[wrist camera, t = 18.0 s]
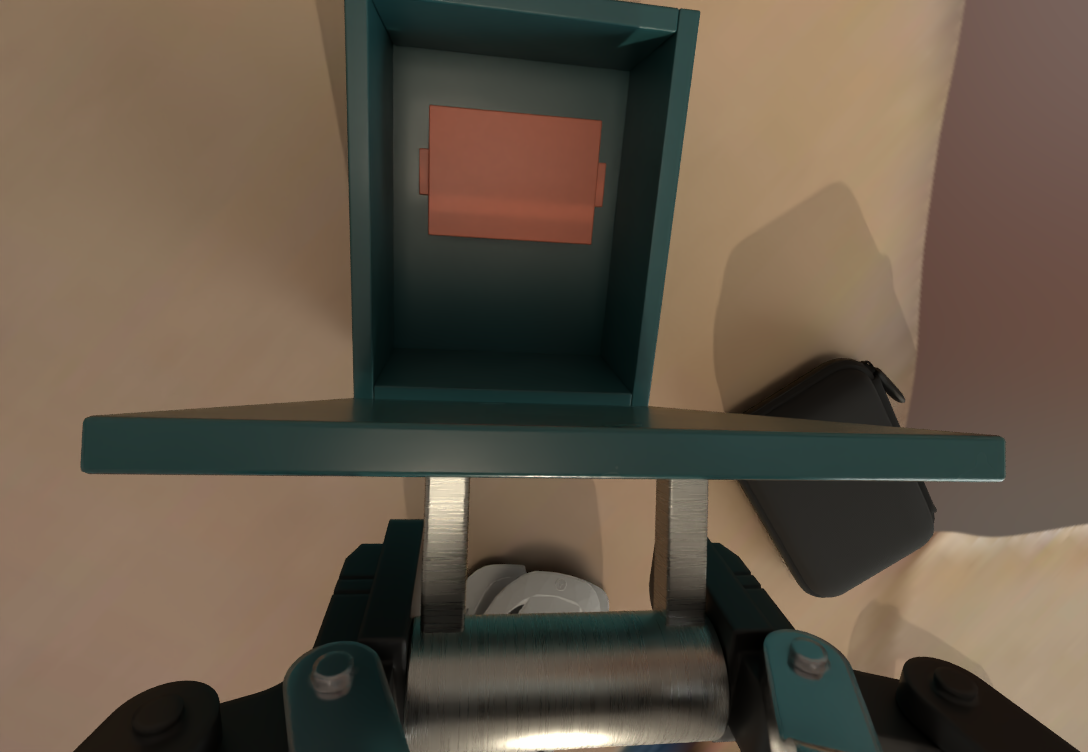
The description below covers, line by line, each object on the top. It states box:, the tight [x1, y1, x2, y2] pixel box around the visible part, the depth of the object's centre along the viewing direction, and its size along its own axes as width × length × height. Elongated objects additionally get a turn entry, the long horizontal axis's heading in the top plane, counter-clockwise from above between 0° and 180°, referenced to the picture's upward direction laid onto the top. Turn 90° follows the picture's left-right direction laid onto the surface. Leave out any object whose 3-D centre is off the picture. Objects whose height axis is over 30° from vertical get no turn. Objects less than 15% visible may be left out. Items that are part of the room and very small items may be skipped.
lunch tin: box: [344, 0, 700, 406], centre depth 25 cm, size 16×13×7 cm
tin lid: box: [81, 398, 1006, 752], centre depth 16 cm, size 16×13×5 cm
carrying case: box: [738, 358, 936, 598], centre depth 34 cm, size 11×3×15 cm
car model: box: [465, 564, 609, 752], centre depth 35 cm, size 11×24×5 cm, turn 161°
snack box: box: [419, 105, 606, 245], centre depth 26 cm, size 8×5×4 cm, turn 86°
